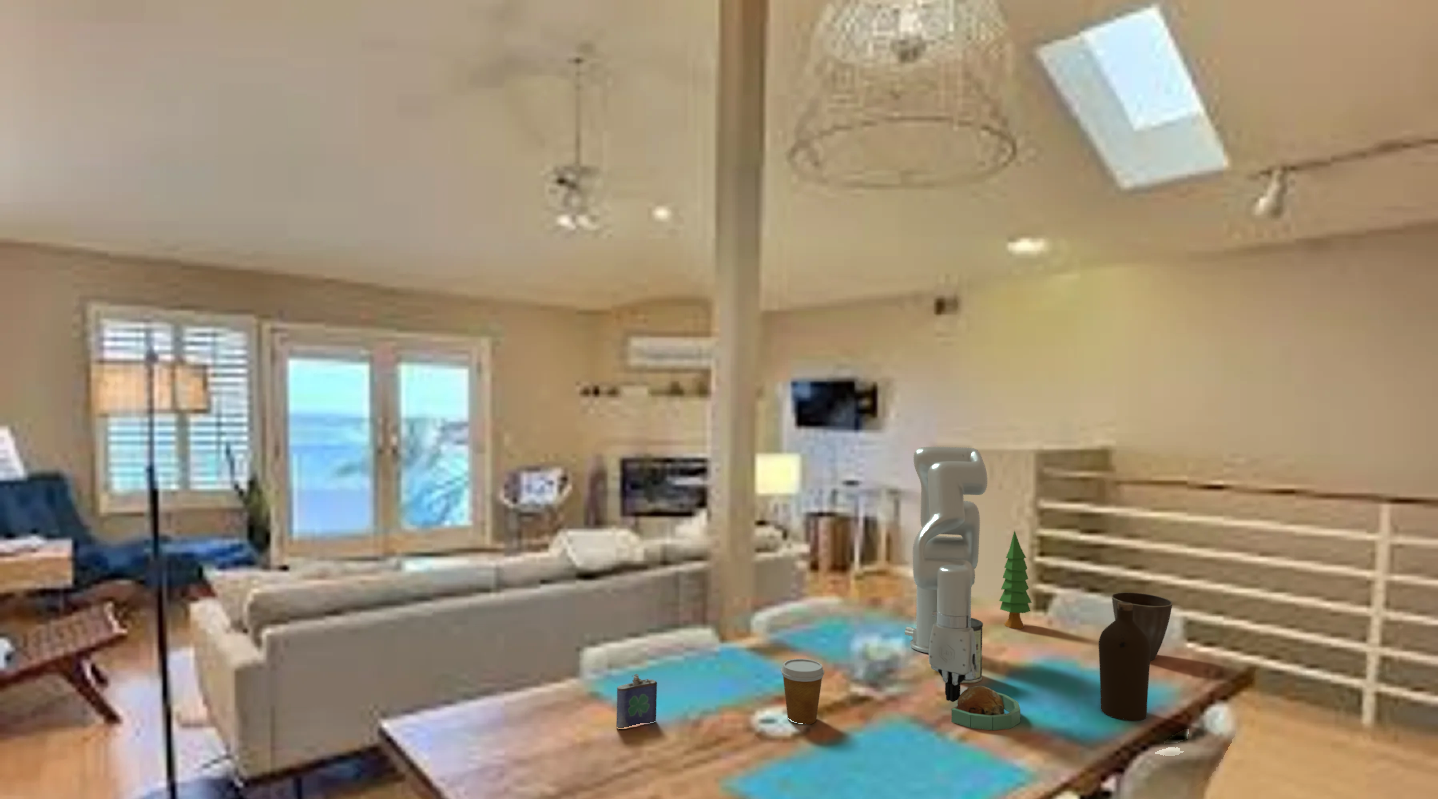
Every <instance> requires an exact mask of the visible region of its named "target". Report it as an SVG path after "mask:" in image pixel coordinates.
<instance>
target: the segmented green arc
mask: <svg viewBox="0 0 1438 799" xmlns="http://www.w3.org/2000/svg"><path fill="white" fill-rule="evenodd" d="M995 692H996V693H997V694H998V695H999V696H1000V697H1001V699H1002V702H1003V705H1004V711H1007V713H1004V714H999V715H983V714H973V713H969V712H965V711H962V710H959V709H958V708H955V707H953V708H951V721H950V722H951V723H953V724H957V725H960V726H963V727H966V728H969V729H977V730H986V731H997V730H1000V731H1001V730H1007V729H1008V730H1009V729H1012V728H1014V727H1015V726H1017V725H1018V724H1020V723H1021V708H1020V703H1019V702H1018V701H1017V700H1016V699H1014V698H1012V697H1010V696H1008V695H1007V694H1005V693H1001V692H997V691H995Z"/></svg>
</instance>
